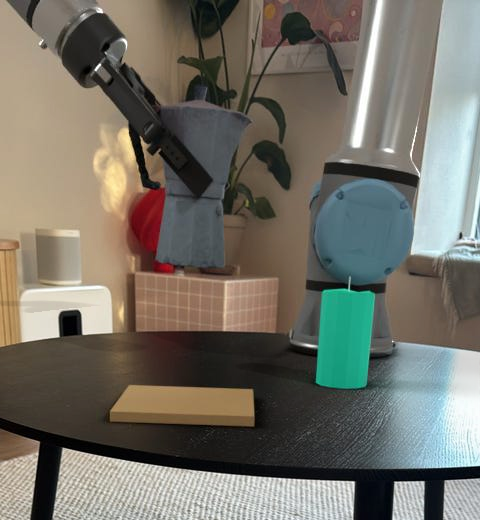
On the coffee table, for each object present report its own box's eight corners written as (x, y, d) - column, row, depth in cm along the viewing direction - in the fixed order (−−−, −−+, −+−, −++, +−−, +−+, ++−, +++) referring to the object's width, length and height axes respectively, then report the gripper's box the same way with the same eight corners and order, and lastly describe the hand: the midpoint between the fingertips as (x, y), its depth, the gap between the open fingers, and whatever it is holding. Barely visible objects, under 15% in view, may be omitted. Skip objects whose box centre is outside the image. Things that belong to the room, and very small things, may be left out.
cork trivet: (252, 398, 79) (253, 389, 79) (254, 426, 68) (254, 416, 67) (129, 394, 79) (128, 384, 79) (109, 421, 68) (109, 411, 67)
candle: (355, 390, 85) (366, 279, 80) (307, 384, 87) (314, 275, 83) (374, 382, 89) (384, 277, 85) (327, 376, 92) (335, 274, 88)
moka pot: (239, 270, 88) (246, 76, 81) (115, 265, 91) (110, 76, 84) (254, 267, 97) (261, 92, 90) (140, 262, 100) (138, 91, 93)
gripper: (94, 80, 98) (211, 216, 102) (21, 42, 79) (169, 212, 82) (132, 32, 96) (251, 174, 99) (66, -19, 76) (218, 159, 79)
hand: (214, 191), depth 90 cm, fingers closed on moka pot, 8 cm apart
